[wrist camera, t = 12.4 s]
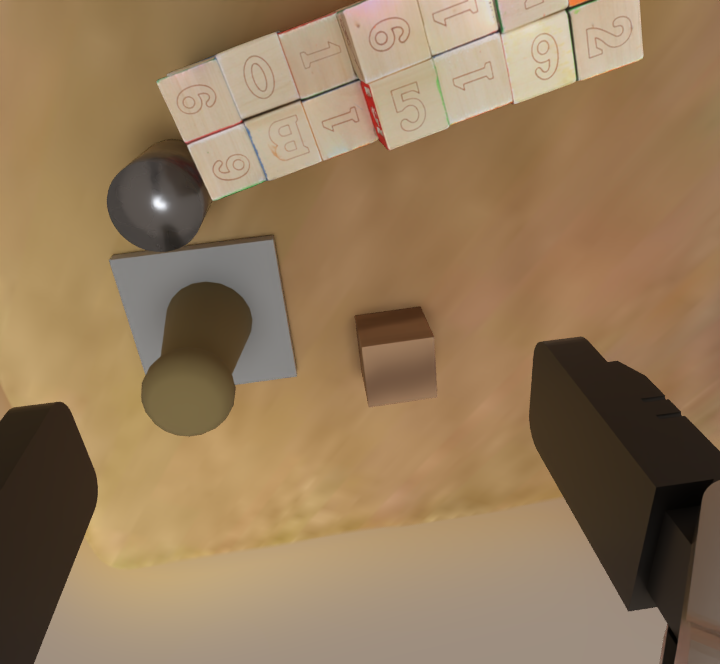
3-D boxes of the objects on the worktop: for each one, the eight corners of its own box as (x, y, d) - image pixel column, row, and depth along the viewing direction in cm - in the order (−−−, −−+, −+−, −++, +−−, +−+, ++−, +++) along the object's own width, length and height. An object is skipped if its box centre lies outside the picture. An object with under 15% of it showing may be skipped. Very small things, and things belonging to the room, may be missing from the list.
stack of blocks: (227, 165, 38) (201, 220, 27) (184, 65, 35) (135, 82, 24) (543, 50, 37) (649, 60, 26) (525, -64, 34) (636, -107, 23)
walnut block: (354, 315, 44) (361, 347, 39) (420, 306, 44) (434, 337, 40) (361, 371, 46) (368, 407, 42) (423, 362, 46) (437, 397, 42)
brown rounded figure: (254, 356, 43) (243, 451, 34) (170, 357, 43) (134, 455, 33) (250, 281, 40) (236, 361, 31) (161, 281, 40) (118, 362, 30)
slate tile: (112, 255, 40) (108, 260, 39) (273, 235, 40) (273, 239, 39) (155, 388, 45) (152, 396, 44) (296, 369, 45) (296, 376, 44)
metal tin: (128, 144, 37) (94, 167, 30) (207, 134, 37) (190, 156, 31) (149, 221, 39) (122, 257, 33) (224, 211, 39) (211, 246, 33)
